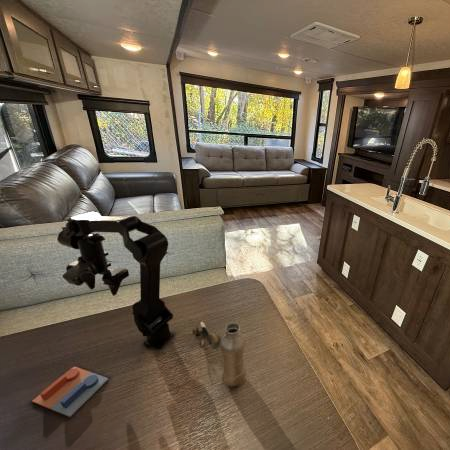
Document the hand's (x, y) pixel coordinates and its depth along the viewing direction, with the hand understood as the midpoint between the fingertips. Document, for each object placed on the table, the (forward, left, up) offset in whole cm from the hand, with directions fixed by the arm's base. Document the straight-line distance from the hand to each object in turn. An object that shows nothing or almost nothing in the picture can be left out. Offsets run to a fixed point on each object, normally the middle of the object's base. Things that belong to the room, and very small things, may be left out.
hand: (103, 291), depth 84 cm
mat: (-13, +22, -12) cm, 29 cm away
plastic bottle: (-52, +7, -12) cm, 54 cm away
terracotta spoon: (-9, +22, -12) cm, 27 cm away
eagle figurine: (-37, -2, -12) cm, 39 cm away
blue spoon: (-16, +22, -12) cm, 30 cm away
